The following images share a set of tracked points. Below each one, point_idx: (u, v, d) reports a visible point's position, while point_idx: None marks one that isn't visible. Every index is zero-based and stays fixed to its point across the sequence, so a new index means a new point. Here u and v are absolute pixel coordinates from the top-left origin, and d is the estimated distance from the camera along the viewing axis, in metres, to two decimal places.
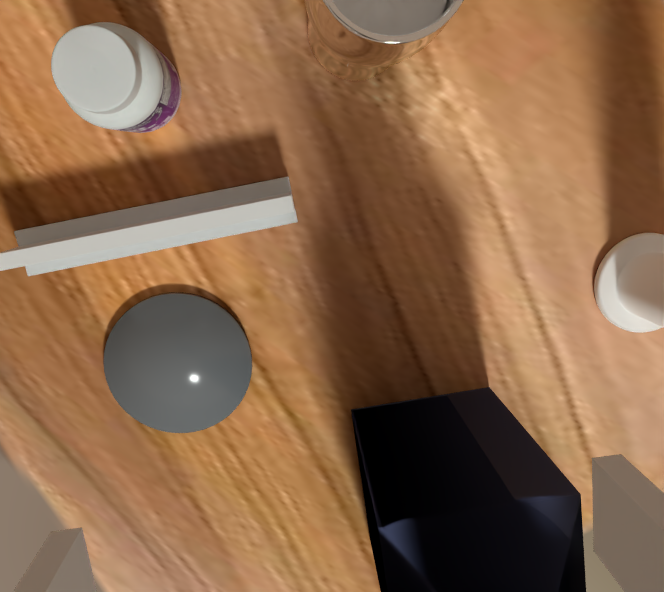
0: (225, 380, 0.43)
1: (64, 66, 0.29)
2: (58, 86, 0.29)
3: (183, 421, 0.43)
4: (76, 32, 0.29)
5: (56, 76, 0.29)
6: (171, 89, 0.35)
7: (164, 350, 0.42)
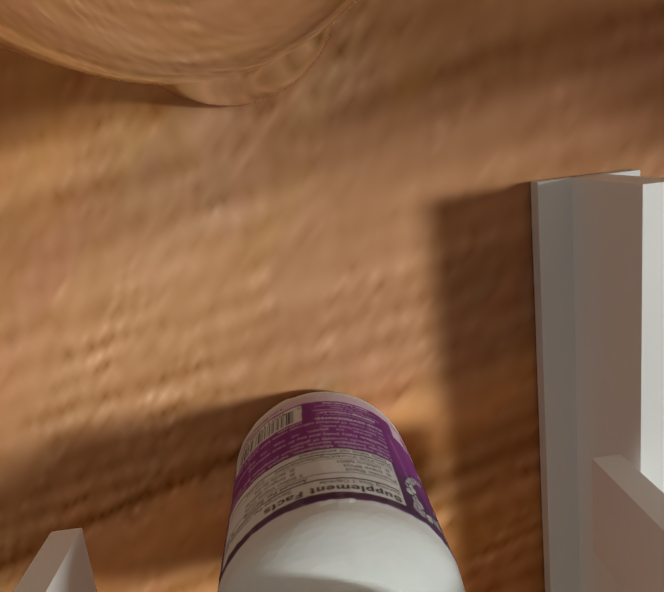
0: None
1: None
2: None
3: None
4: None
5: None
6: (354, 445, 0.15)
7: None
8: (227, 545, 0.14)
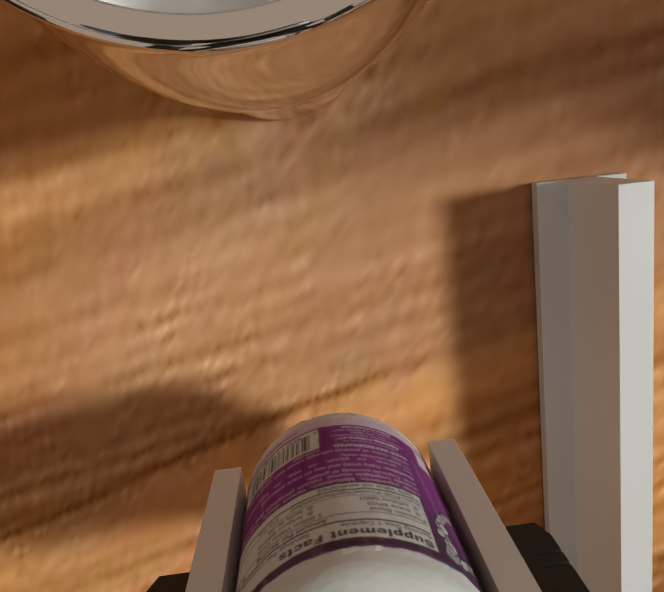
0: None
1: None
2: None
3: None
4: None
5: None
6: (378, 477, 0.14)
7: None
8: None
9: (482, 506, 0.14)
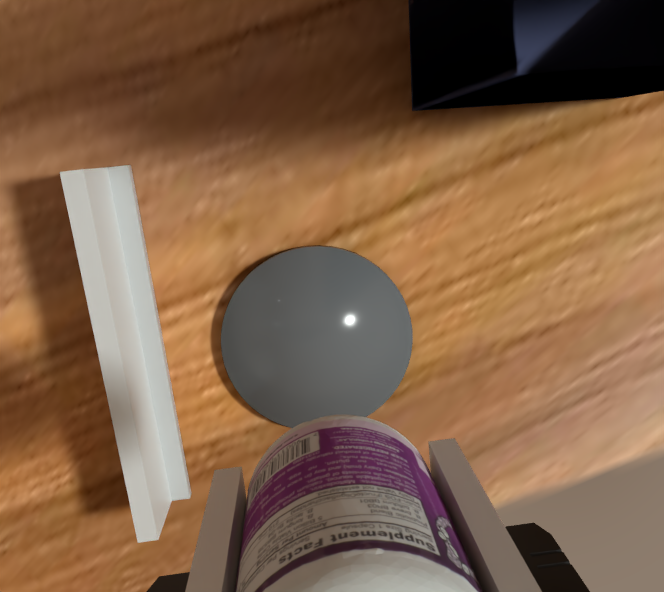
0: (344, 284, 0.31)
1: None
2: None
3: (396, 344, 0.32)
4: None
5: None
6: (378, 480, 0.14)
7: (295, 356, 0.32)
8: None
9: (482, 506, 0.14)
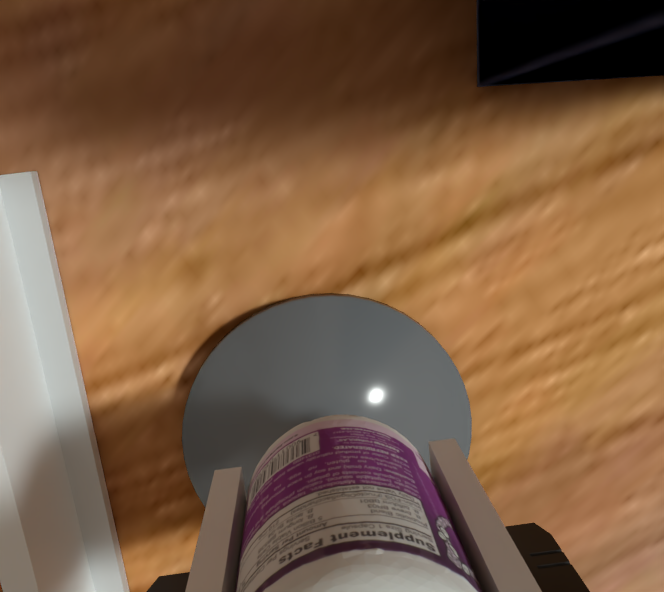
0: (371, 352, 0.21)
1: None
2: None
3: None
4: None
5: None
6: (378, 480, 0.14)
7: None
8: None
9: (483, 506, 0.14)
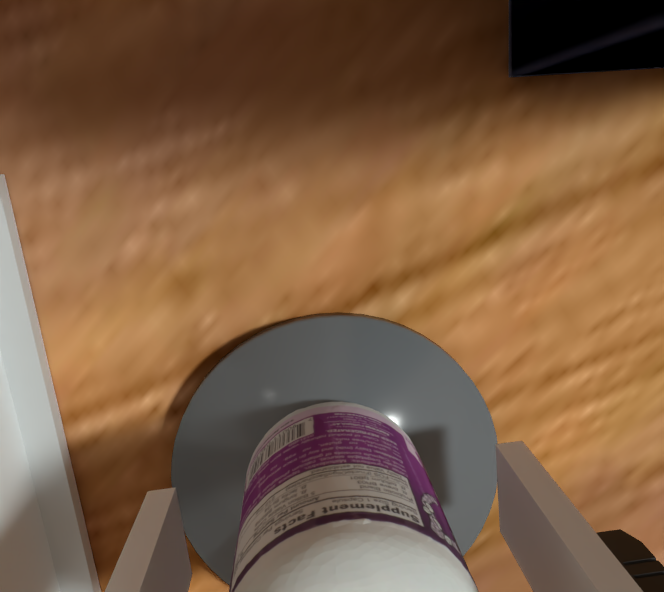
0: (385, 380, 0.18)
1: None
2: None
3: (470, 477, 0.19)
4: None
5: None
6: (368, 459, 0.14)
7: None
8: (236, 565, 0.13)
9: (568, 512, 0.14)
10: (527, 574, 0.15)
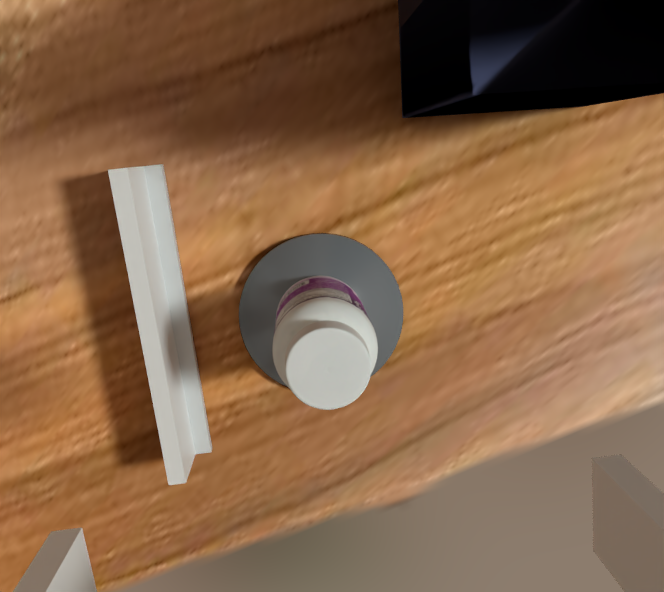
0: (345, 266, 0.37)
1: (324, 397, 0.28)
2: (343, 405, 0.28)
3: (389, 318, 0.38)
4: (292, 381, 0.28)
5: (333, 405, 0.28)
6: (332, 288, 0.33)
7: None
8: (276, 324, 0.32)
9: None
10: None
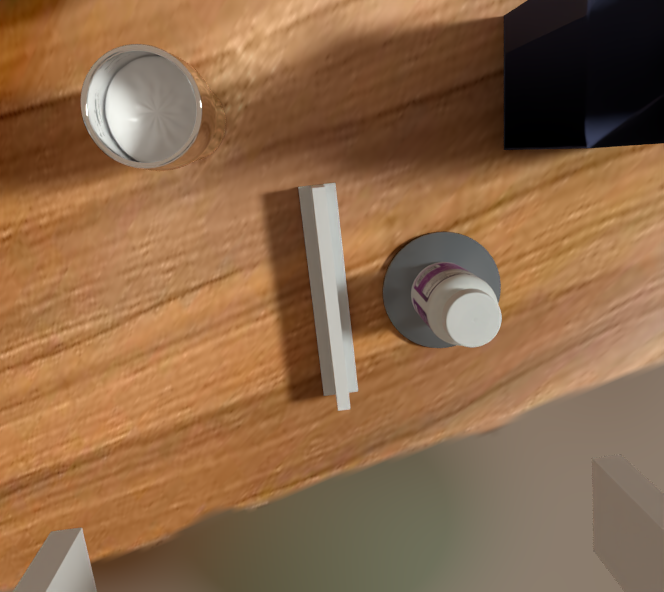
0: (460, 255, 0.51)
1: (470, 338, 0.43)
2: (482, 344, 0.43)
3: None
4: (450, 328, 0.43)
5: (476, 344, 0.43)
6: (461, 269, 0.48)
7: None
8: (426, 293, 0.46)
9: None
10: None
